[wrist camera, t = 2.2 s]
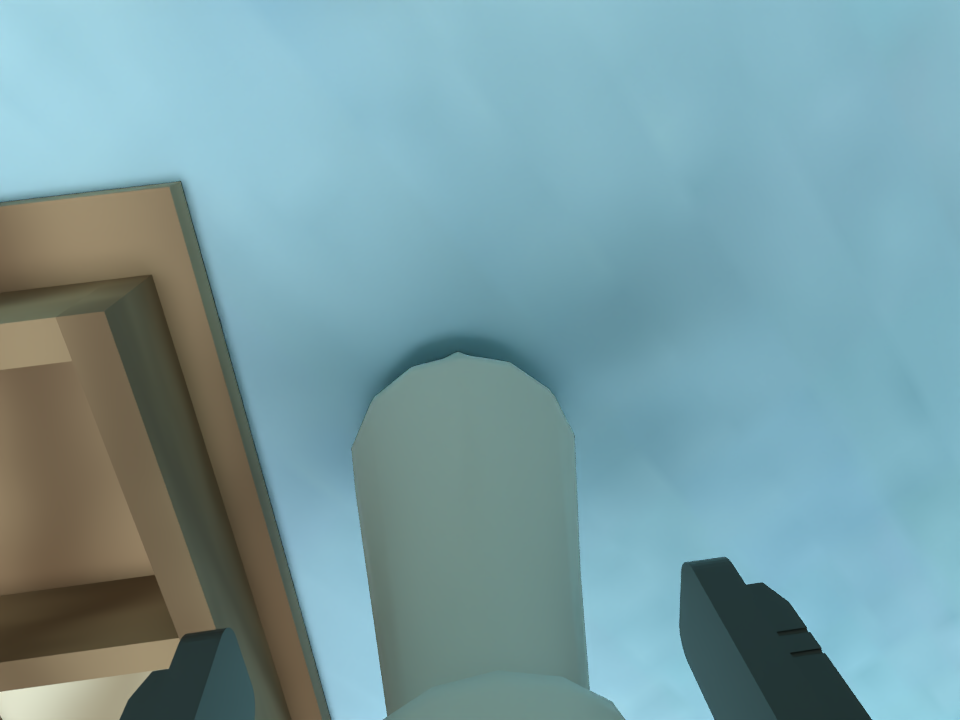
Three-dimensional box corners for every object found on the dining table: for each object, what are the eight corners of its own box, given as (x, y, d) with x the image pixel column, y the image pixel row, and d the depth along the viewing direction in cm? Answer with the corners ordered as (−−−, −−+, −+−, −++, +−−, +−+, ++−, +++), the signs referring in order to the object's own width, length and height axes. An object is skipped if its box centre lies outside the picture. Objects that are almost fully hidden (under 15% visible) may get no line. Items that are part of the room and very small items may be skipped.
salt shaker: (554, 495, 21) (727, 1056, 9) (369, 506, 21) (298, 1107, 9) (559, 319, 19) (803, 766, 7) (351, 329, 18) (219, 820, 6)
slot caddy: (180, 181, 16) (122, 209, 13) (350, 790, 26) (340, 893, 23) (-327, 240, 16) (-513, 283, 13) (34, 837, 25) (-23, 948, 22)
